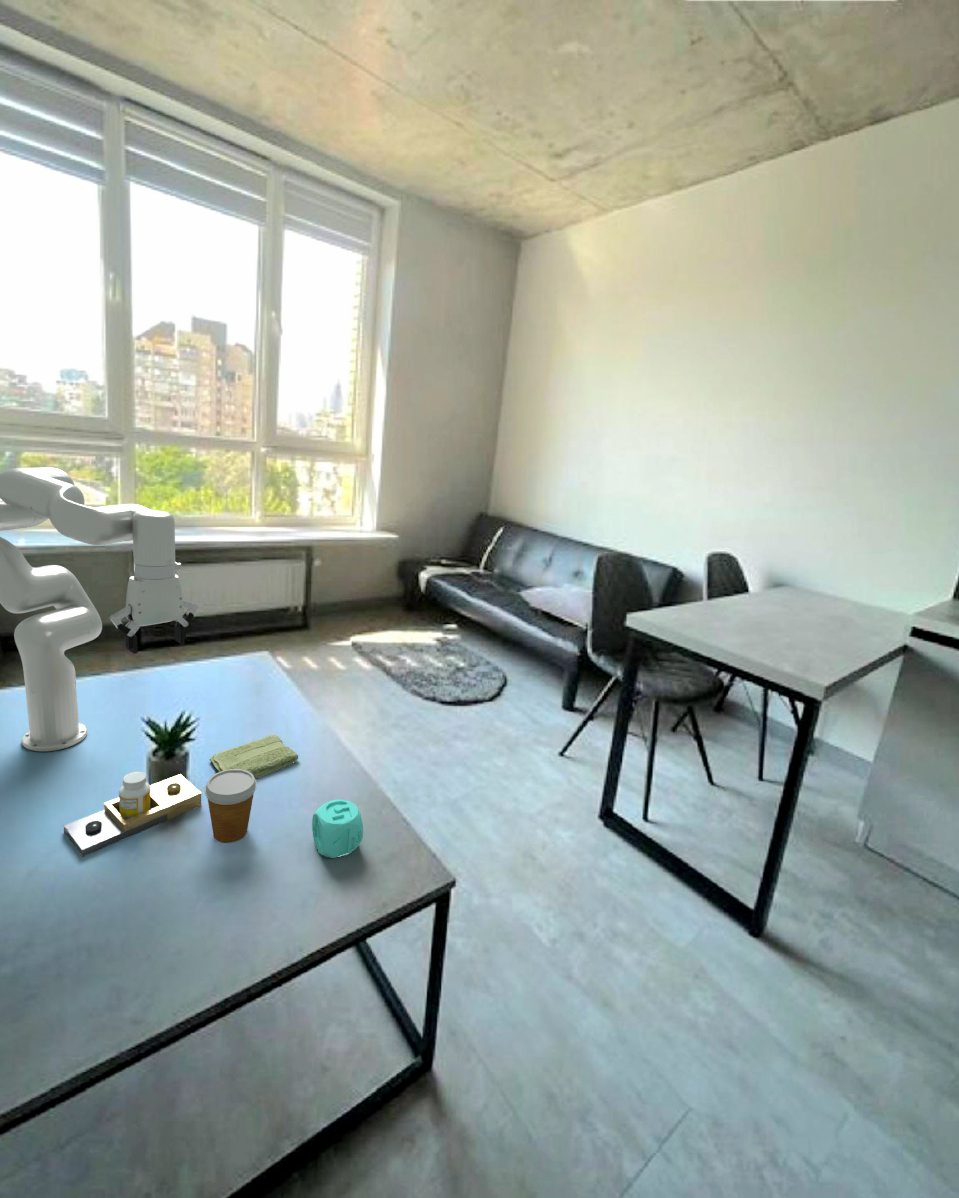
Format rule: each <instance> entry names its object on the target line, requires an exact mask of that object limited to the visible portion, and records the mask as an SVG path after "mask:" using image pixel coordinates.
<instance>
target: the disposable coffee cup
mask: <svg viewBox="0 0 959 1198" xmlns="http://www.w3.org/2000/svg"><path fill="white" fill-rule="evenodd" d="M207 780H208V781H206V782H207V783H206V785H205V787H204V795H205V796H206V798H207V802H208V804H207V805H208V808H209V816H210V817H209V818H210V821H211V828H212V833H213V836H212V837H213V838H214V840H215V841H217V842H219V843H221V844H222V843H223V844H231V843H236V842H238V841H240V840H242V839H243V838H244V837H245V836H246V835H247V832H248V829H249V823H250V819H251V817H250V816H251V811H252V805H253V798H254V794H255V792H256V790H257V788H258V781H257V780H256V778H254V776H253V774H252V773H250V772H249V771H246V770H242V769H228V770H224V771H221V772H219V771H218V772H217V773H214V774H213V775H212V776H210V778H209V779H207Z"/></svg>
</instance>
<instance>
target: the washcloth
mask: <svg viewBox="0 0 959 1198" xmlns="http://www.w3.org/2000/svg"><path fill="white" fill-rule="evenodd" d="M298 759H299V754H298V753H296V751H294V750H293V749H291V748H290V747H289V746H286V745H285V744H284V742H283V740H282V739H281V737H279V736H277V735H276V734H269V735H266V736H265V737H262V738H259V739H257V740H253V741H252V740H251V741H249V742H246V743H244V744H243V743H242V744H241V745H239V746H235V747H231V748H228V749H224V750H222V751H219V752H218V753H216V754H213V755H212V756H211V757H210V758H209V761H210V762H211V763H212V764H213V766H214V767H215V768H216V770H217V771H218V772H221V771H224V770H228V769H242V770H246V771H249V772H250V773H252V774H253V776H254V778H255V779H259V778H260V777H263V776H264V775H268V774H271V773H273V772H275V771H278V770H280V768H281V769H282V768H285V767H288V766H290V765H292V764H291V763H293V762H295V763H296V762H297V761H298ZM289 764H290V765H289ZM293 764H294V763H293Z"/></svg>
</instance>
